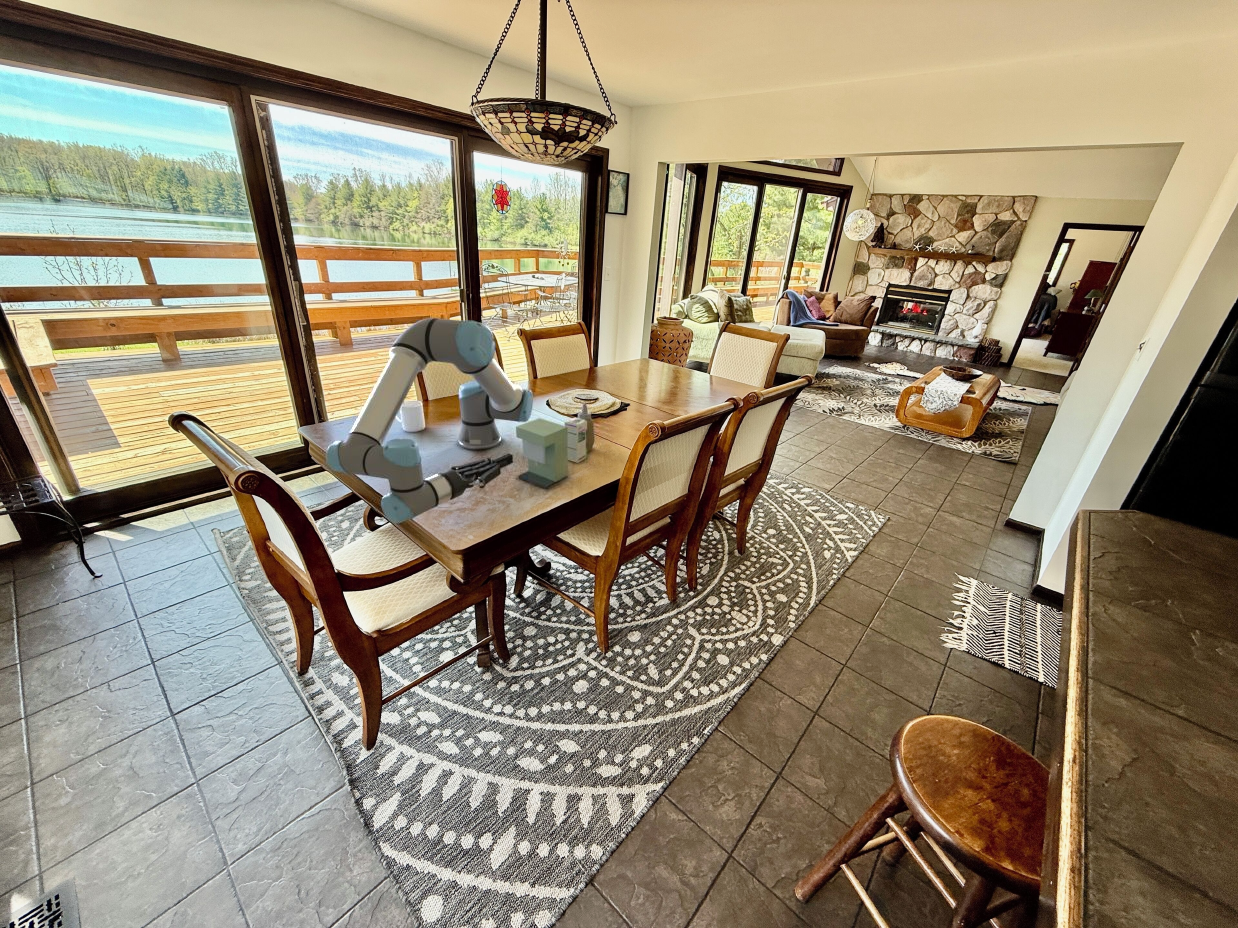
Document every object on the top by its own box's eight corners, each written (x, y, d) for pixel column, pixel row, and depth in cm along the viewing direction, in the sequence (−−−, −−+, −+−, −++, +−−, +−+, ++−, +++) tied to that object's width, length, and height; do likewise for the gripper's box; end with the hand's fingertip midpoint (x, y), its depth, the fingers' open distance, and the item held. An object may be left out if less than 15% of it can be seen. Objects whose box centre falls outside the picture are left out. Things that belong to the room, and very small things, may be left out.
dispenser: (545, 489, 150) (544, 436, 142) (518, 478, 156) (515, 426, 148) (567, 477, 158) (567, 426, 150) (540, 467, 164) (539, 418, 156)
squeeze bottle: (591, 455, 175) (592, 408, 167) (570, 452, 176) (570, 405, 169) (596, 446, 182) (598, 401, 175) (576, 444, 184) (576, 399, 176)
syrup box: (577, 463, 168) (578, 424, 162) (564, 459, 171) (564, 420, 165) (587, 458, 173) (587, 420, 166) (574, 453, 175) (574, 416, 169)
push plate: (543, 464, 148) (543, 446, 145) (522, 456, 153) (522, 439, 150) (545, 463, 149) (545, 445, 146) (524, 455, 153) (523, 438, 151)
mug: (389, 430, 187) (385, 405, 183) (400, 423, 194) (396, 399, 190) (419, 433, 186) (415, 408, 182) (429, 425, 194) (425, 401, 189)
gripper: (429, 492, 129) (496, 463, 147) (461, 508, 122) (527, 475, 140) (426, 467, 126) (495, 440, 143) (458, 482, 119) (526, 452, 137)
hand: (511, 458), depth 142 cm, fingers closed
